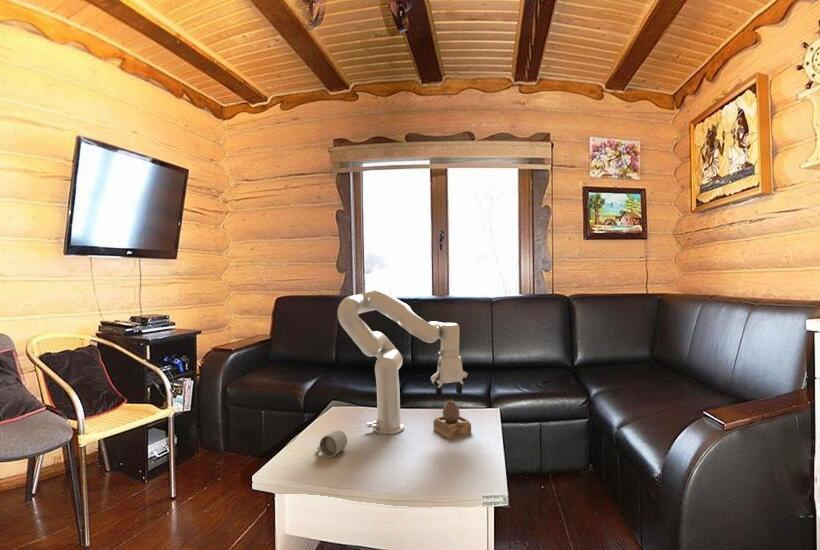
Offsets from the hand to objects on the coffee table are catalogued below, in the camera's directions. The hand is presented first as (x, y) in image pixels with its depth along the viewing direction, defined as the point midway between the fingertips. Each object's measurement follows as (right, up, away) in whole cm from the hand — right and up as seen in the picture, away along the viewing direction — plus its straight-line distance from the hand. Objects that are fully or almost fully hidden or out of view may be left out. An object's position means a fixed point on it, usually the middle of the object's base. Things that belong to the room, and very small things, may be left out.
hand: (449, 395), depth 166 cm
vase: (+1, -11, 0) cm, 11 cm away
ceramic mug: (-45, -17, -16) cm, 51 cm away
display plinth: (+1, -15, 0) cm, 15 cm away
